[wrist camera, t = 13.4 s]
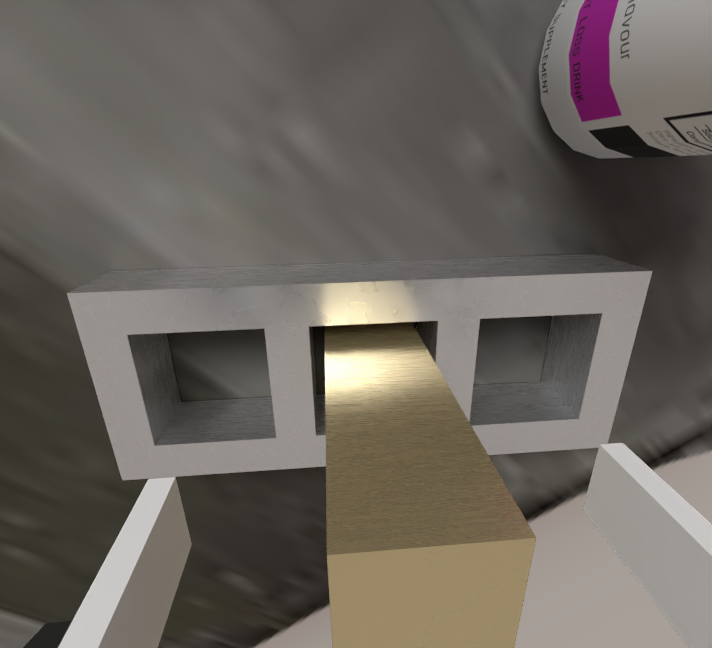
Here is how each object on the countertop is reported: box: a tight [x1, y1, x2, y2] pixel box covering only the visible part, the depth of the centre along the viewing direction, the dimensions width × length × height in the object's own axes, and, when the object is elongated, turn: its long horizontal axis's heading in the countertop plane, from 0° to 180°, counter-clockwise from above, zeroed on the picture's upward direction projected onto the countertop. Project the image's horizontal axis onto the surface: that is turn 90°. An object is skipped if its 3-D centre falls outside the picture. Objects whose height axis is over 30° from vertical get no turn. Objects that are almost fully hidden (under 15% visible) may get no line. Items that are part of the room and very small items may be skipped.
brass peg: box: [324, 322, 536, 648], centre depth 16 cm, size 4×4×15 cm
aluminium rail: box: [67, 254, 652, 480], centre depth 21 cm, size 26×10×4 cm, turn 91°
